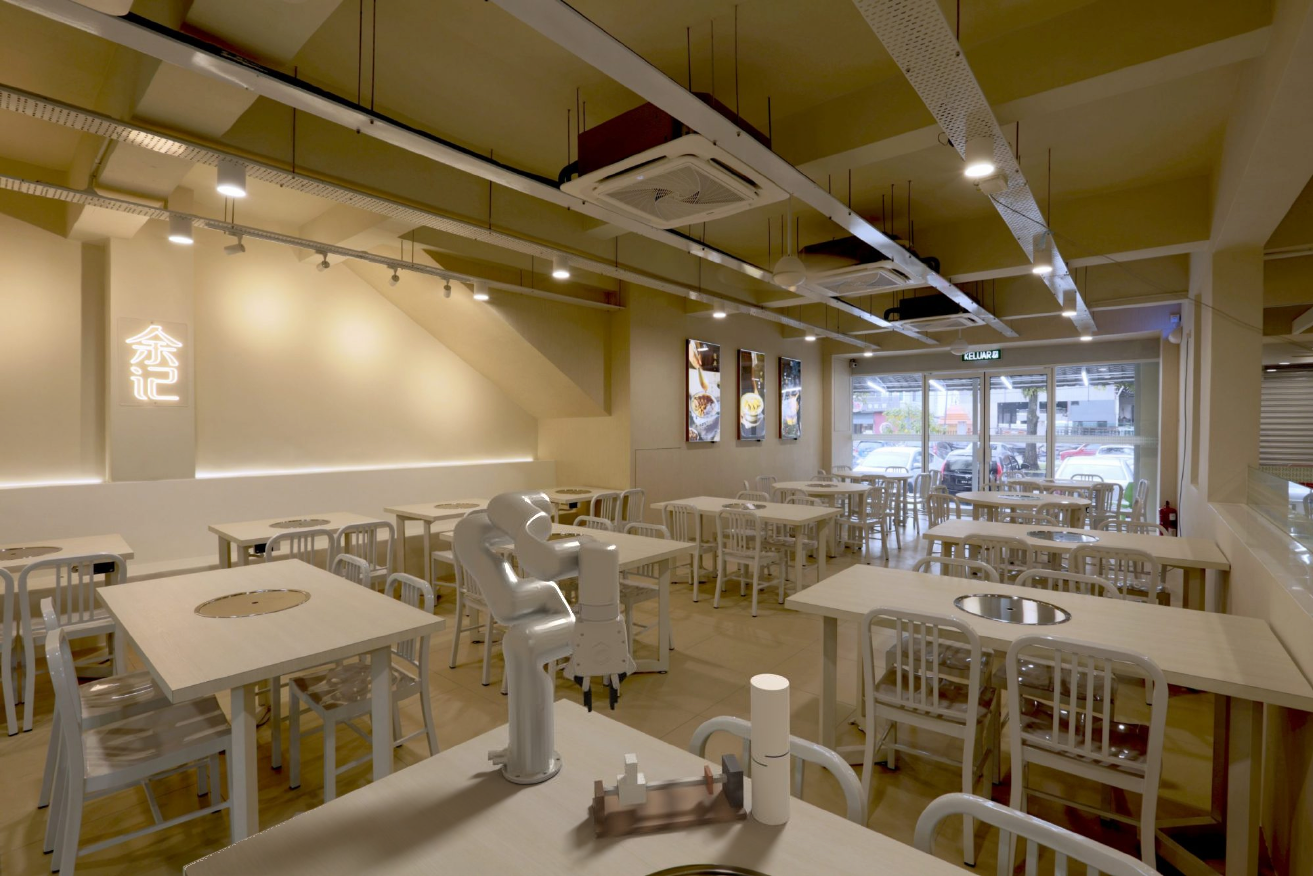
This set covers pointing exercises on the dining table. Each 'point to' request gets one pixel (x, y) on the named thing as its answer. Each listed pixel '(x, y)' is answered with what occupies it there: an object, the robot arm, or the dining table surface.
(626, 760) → the sleeve
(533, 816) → the dining table surface
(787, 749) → the cylindrical container
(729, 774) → the rail
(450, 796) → the dining table surface
